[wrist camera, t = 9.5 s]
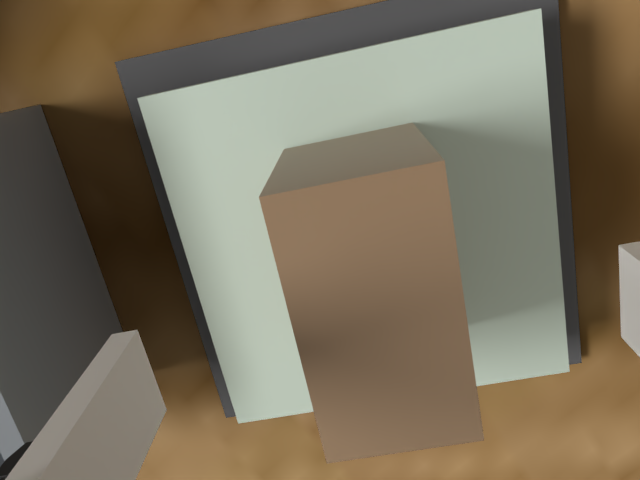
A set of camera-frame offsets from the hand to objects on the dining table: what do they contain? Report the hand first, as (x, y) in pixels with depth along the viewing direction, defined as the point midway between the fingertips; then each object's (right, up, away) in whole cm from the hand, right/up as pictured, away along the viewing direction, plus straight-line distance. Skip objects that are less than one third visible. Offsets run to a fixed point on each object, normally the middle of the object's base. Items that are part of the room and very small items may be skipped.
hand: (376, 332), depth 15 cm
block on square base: (+1, +3, +10) cm, 11 cm away
